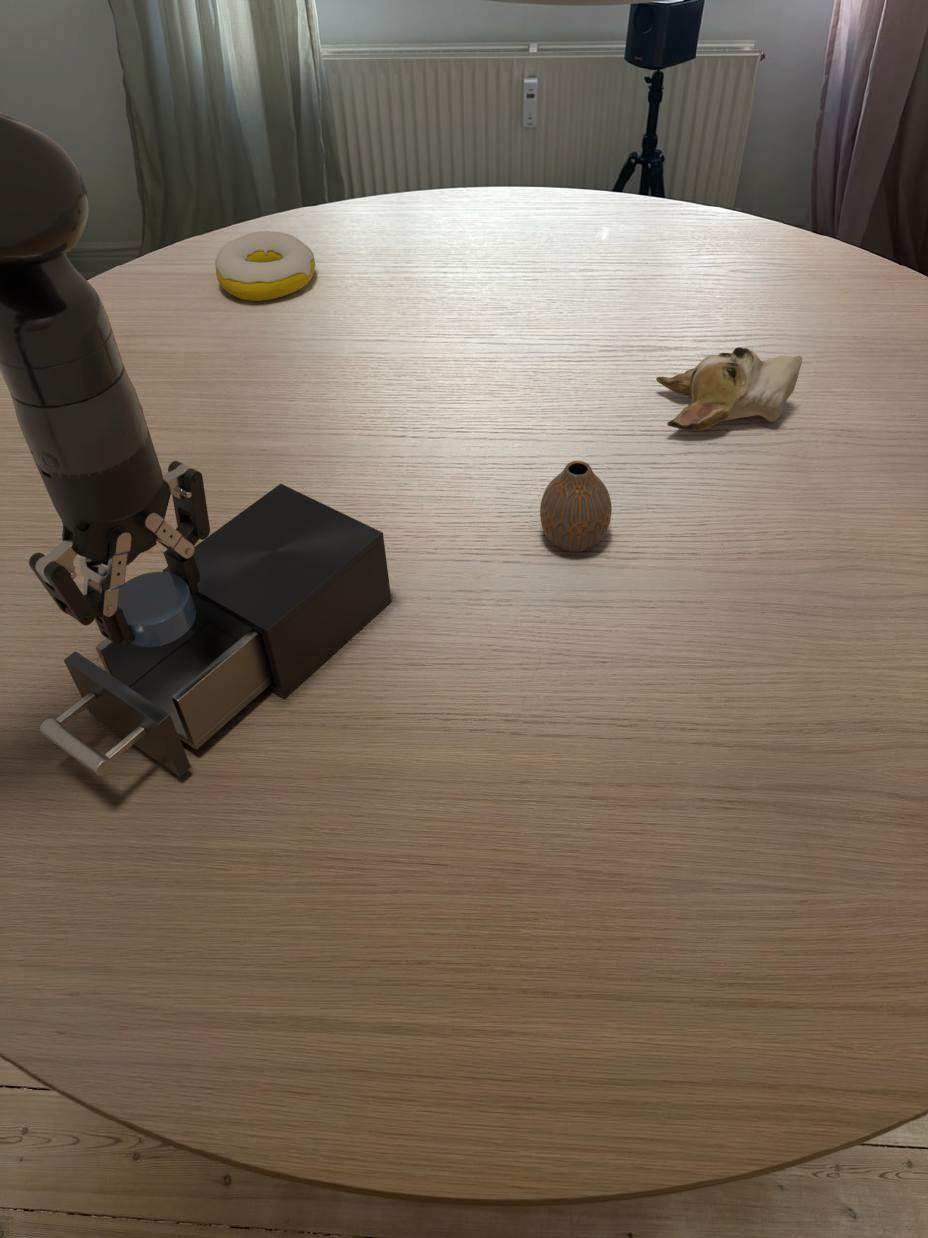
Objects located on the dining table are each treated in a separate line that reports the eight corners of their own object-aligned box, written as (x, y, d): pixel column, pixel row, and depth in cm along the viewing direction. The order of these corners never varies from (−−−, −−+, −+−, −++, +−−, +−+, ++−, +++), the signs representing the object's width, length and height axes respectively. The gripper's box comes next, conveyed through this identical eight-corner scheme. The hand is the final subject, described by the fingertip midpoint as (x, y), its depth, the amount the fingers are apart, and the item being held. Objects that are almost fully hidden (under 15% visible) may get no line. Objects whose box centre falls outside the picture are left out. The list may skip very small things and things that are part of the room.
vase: (567, 571, 95) (571, 500, 89) (525, 533, 99) (526, 463, 93) (623, 543, 97) (630, 472, 91) (579, 507, 101) (584, 437, 95)
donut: (219, 265, 143) (211, 231, 139) (313, 254, 144) (308, 220, 141) (219, 311, 133) (211, 276, 130) (321, 299, 135) (316, 264, 131)
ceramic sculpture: (816, 369, 102) (670, 381, 103) (804, 439, 108) (666, 449, 109) (793, 318, 109) (657, 330, 110) (782, 386, 115) (654, 396, 117)
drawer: (132, 820, 76) (105, 768, 71) (41, 751, 81) (11, 698, 76) (296, 672, 86) (283, 618, 81) (206, 619, 91) (189, 565, 86)
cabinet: (284, 699, 85) (266, 630, 79) (185, 638, 90) (161, 570, 84) (392, 601, 93) (383, 532, 87) (295, 551, 98) (280, 482, 92)
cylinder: (129, 658, 74) (120, 636, 73) (111, 608, 78) (102, 587, 77) (205, 630, 76) (198, 608, 74) (184, 583, 80) (177, 561, 78)
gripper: (136, 370, 70) (191, 546, 82) (-40, 472, 63) (50, 650, 75) (208, 402, 67) (255, 581, 79) (32, 514, 59) (113, 693, 71)
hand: (155, 613), depth 77 cm, fingers closed on cylinder, 6 cm apart
